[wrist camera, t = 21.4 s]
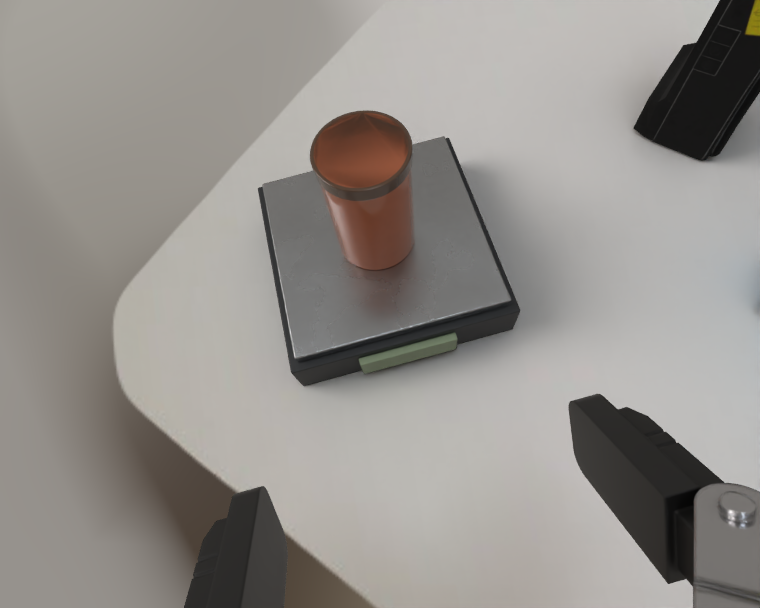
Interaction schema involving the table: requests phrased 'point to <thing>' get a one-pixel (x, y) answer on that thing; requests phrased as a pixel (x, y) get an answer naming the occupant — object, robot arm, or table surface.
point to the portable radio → (708, 84)
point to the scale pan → (387, 286)
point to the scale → (401, 345)
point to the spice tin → (367, 186)
